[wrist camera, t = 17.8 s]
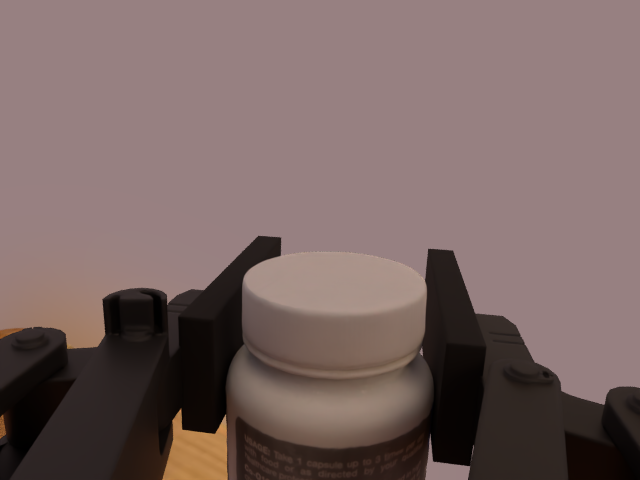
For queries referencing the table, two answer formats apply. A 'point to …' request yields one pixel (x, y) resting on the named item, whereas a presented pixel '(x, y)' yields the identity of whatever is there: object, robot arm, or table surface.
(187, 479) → the table surface
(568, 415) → the robot arm
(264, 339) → the pill bottle
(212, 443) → the table surface
